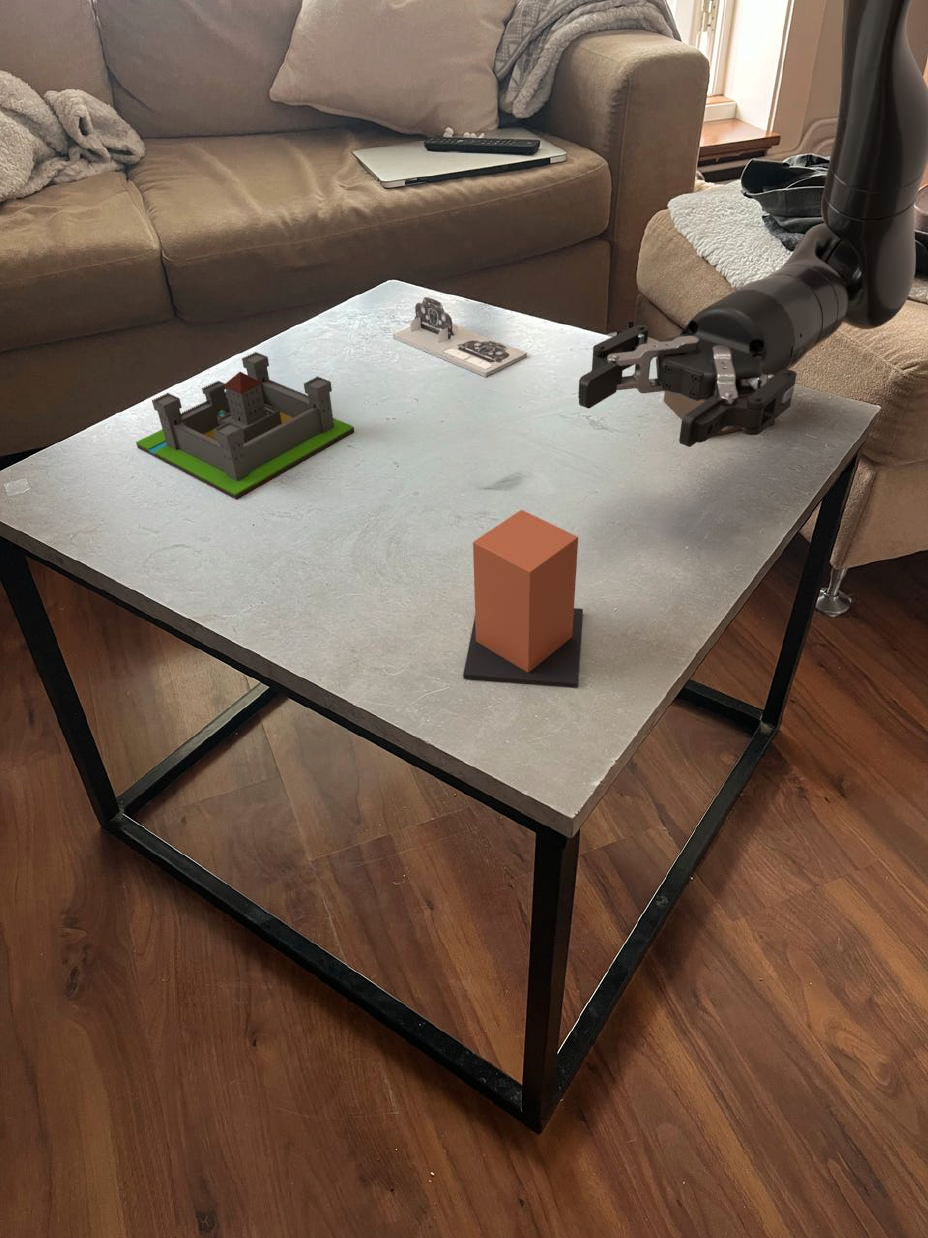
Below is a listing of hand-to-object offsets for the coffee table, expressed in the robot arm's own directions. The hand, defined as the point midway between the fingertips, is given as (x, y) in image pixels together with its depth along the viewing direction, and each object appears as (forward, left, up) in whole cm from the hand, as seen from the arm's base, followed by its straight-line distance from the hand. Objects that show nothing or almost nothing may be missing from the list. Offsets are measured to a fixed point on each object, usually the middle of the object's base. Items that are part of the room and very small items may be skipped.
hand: (632, 413), depth 64 cm
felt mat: (+7, +9, -14) cm, 18 cm away
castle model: (+36, -18, -14) cm, 43 cm away
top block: (+7, +9, -14) cm, 18 cm away
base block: (-9, -27, -14) cm, 32 cm away
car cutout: (+19, -40, -14) cm, 46 cm away
